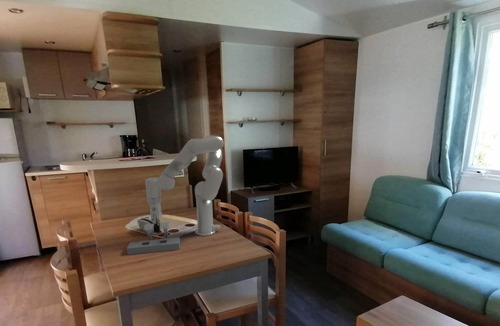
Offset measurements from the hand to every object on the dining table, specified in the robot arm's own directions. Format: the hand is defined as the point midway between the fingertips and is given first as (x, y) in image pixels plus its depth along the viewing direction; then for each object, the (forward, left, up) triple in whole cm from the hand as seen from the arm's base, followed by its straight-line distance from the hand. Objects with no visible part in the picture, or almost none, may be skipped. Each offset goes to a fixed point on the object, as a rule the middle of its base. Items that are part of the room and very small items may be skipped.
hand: (157, 230), depth 156 cm
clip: (0, 0, -5) cm, 4 cm away
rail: (+1, +9, -7) cm, 11 cm away
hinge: (+7, -18, -7) cm, 21 cm away
